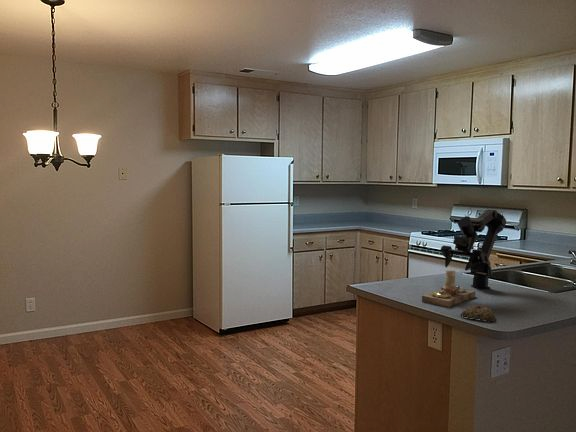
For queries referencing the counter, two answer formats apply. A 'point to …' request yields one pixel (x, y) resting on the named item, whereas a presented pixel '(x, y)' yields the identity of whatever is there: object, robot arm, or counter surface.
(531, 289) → the counter surface
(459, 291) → the gear
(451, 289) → the idler gear
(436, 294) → the gear
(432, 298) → the gear board
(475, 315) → the bread roll
